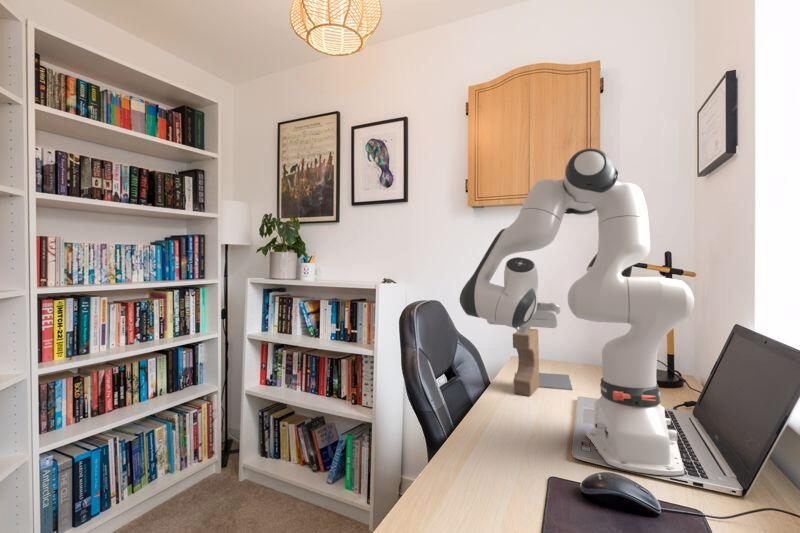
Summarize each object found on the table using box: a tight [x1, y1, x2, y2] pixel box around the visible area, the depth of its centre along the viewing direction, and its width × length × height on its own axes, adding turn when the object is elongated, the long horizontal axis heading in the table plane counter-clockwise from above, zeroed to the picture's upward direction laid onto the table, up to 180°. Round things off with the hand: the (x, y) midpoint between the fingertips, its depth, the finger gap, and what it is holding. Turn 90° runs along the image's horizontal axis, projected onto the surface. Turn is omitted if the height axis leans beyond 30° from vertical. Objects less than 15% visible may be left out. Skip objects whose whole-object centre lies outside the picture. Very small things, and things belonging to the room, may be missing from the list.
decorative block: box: [512, 328, 540, 397], centre depth 131 cm, size 11×6×20 cm, turn 145°
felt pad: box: [514, 372, 573, 391], centre depth 143 cm, size 18×19×1 cm
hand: (521, 331), depth 120 cm, fingers closed
